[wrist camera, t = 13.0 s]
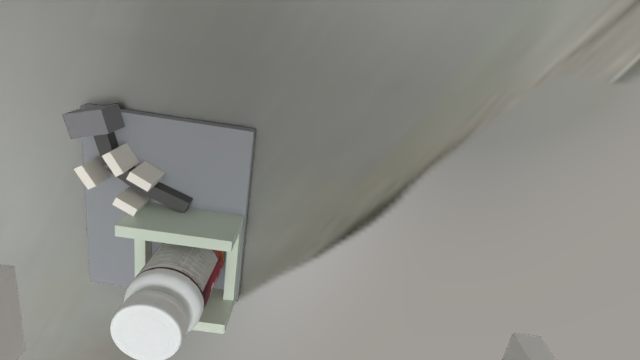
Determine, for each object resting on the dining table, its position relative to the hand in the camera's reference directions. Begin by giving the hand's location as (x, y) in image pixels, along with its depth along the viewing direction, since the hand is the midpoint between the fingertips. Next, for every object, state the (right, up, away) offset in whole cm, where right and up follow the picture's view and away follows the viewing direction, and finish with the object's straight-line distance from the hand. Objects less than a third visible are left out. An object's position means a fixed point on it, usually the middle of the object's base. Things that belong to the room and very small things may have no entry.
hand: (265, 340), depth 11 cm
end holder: (-11, -3, +28) cm, 31 cm away
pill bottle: (-11, -3, +29) cm, 31 cm away
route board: (-13, +2, +28) cm, 31 cm away
